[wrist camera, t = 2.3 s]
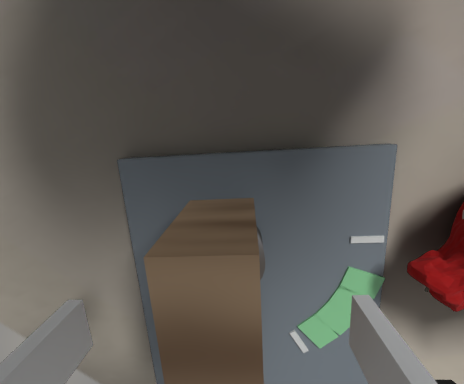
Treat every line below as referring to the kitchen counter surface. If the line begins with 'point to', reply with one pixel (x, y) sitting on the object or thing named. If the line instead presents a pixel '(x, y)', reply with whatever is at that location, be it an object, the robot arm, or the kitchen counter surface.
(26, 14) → the kitchen counter surface
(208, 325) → the knob
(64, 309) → the robot arm
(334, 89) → the kitchen counter surface
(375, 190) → the dial board
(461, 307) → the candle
